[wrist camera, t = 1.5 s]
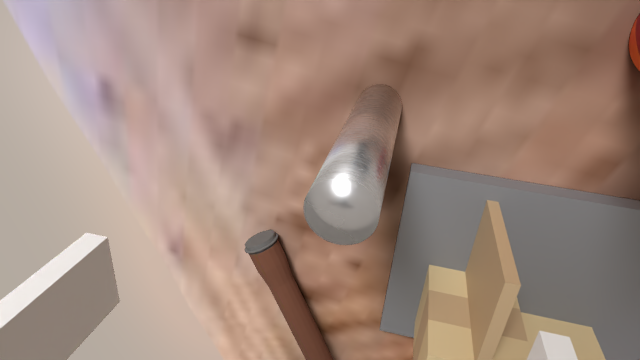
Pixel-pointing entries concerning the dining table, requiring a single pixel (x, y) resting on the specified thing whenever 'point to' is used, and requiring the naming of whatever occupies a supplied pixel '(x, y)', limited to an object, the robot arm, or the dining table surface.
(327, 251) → the dining table surface
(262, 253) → the mallet
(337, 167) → the hinge pin
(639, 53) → the coffee cup
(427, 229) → the stand
